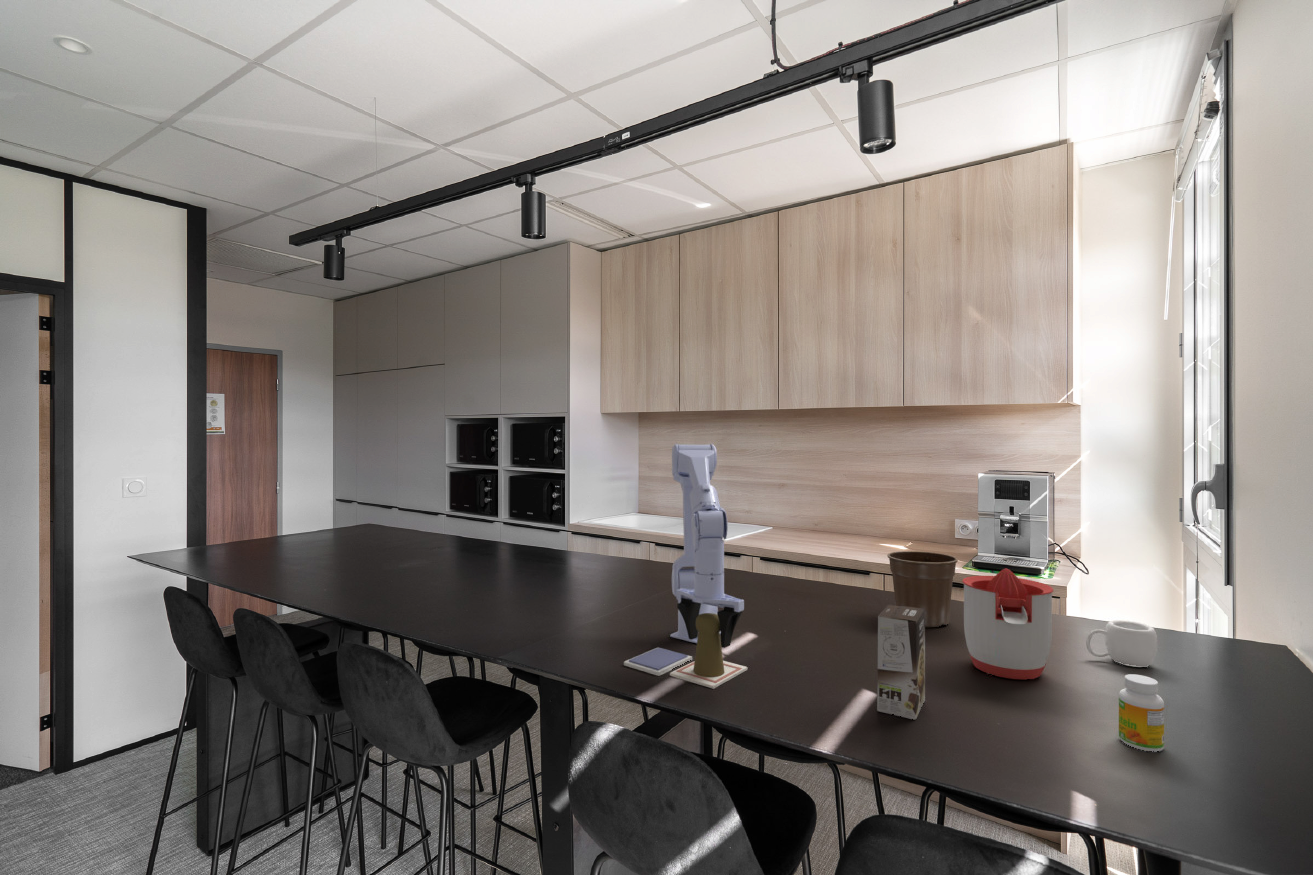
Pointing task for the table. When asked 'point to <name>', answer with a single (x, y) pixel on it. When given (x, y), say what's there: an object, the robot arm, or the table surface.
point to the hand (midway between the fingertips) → (709, 642)
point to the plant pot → (924, 583)
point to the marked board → (711, 682)
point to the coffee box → (901, 661)
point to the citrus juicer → (1008, 624)
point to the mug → (1128, 642)
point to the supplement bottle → (1141, 714)
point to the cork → (708, 646)
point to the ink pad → (657, 661)
